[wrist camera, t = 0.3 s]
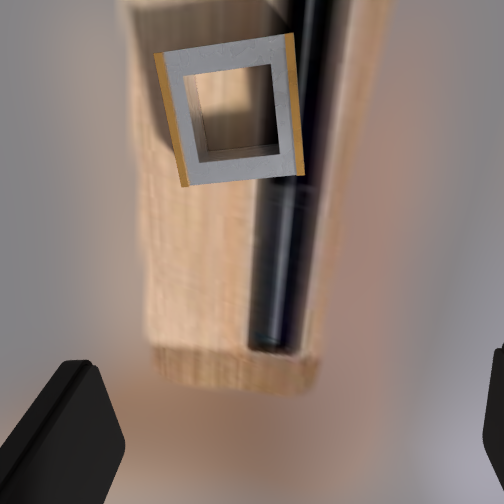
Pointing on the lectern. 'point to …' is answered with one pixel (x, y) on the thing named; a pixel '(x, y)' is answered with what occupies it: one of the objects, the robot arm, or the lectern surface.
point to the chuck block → (191, 122)
